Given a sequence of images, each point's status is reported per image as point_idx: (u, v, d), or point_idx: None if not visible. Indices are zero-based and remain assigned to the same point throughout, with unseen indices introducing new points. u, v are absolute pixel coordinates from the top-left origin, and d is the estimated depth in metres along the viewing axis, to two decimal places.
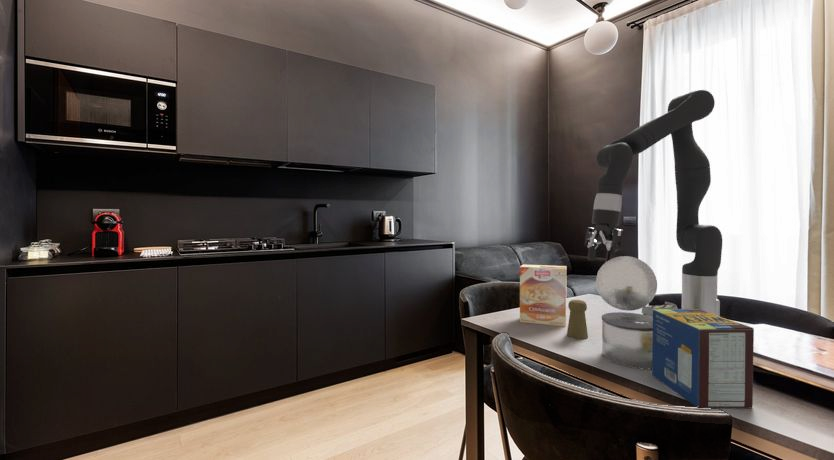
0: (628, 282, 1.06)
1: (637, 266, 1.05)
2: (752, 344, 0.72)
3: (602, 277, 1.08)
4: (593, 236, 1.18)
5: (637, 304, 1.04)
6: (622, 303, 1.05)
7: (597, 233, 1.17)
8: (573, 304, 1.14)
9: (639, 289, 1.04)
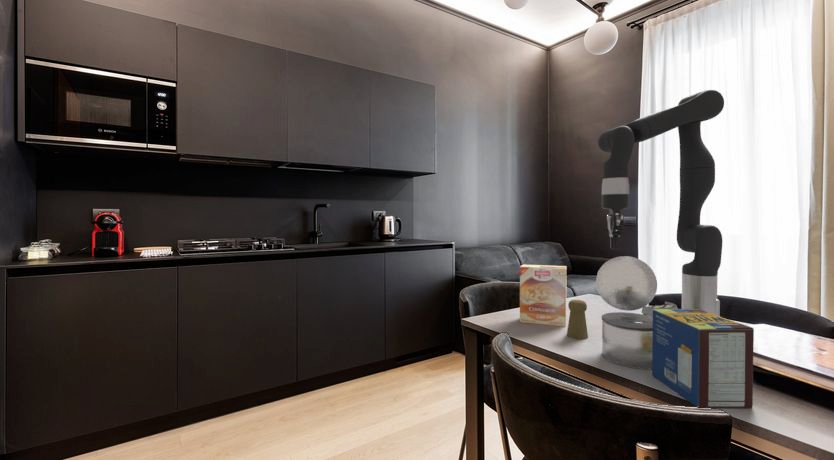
0: (628, 282, 1.06)
1: (637, 266, 1.05)
2: (752, 344, 0.72)
3: (602, 277, 1.08)
4: (608, 222, 1.19)
5: (637, 304, 1.04)
6: (622, 303, 1.05)
7: None
8: (573, 304, 1.14)
9: (639, 289, 1.04)
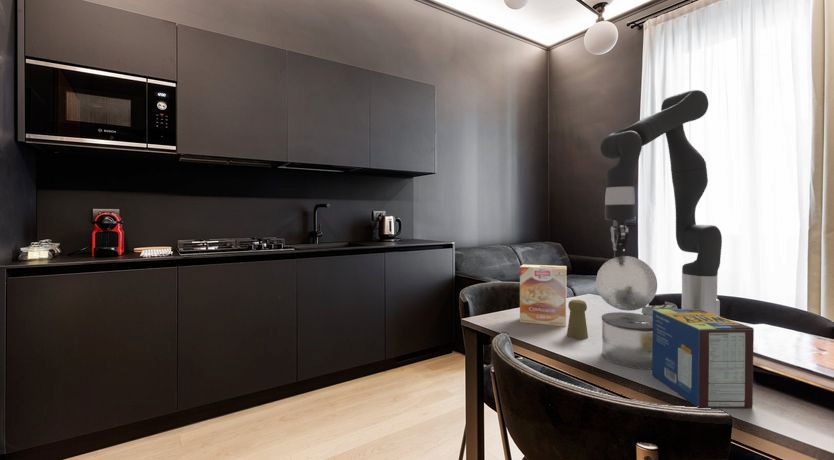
0: (628, 282, 1.05)
1: (637, 266, 1.05)
2: (752, 344, 0.72)
3: (602, 277, 1.08)
4: (612, 234, 1.11)
5: (637, 304, 1.04)
6: (622, 303, 1.05)
7: None
8: (573, 304, 1.14)
9: (639, 289, 1.04)
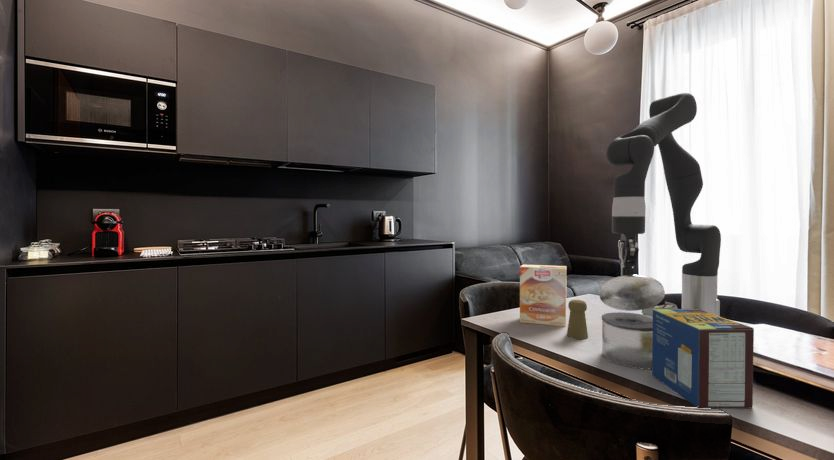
0: (633, 294, 0.99)
1: (647, 285, 0.95)
2: (752, 344, 0.72)
3: (606, 291, 1.01)
4: (619, 249, 1.00)
5: (638, 307, 1.03)
6: (623, 306, 1.04)
7: None
8: (573, 304, 1.14)
9: (644, 299, 1.00)
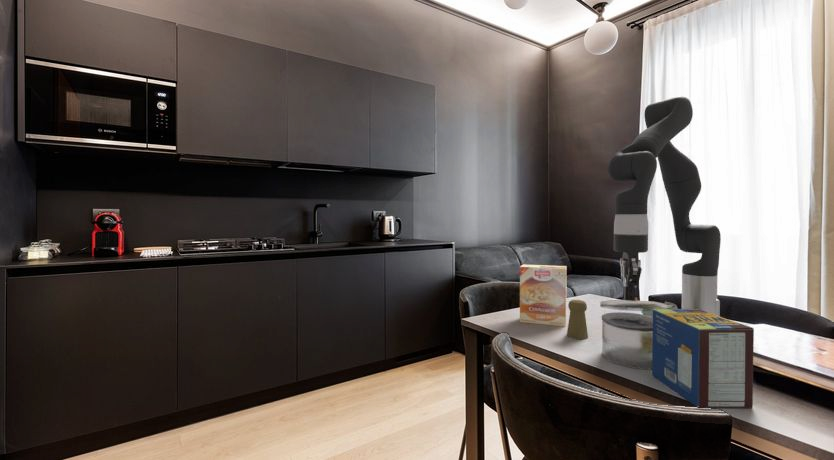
0: (635, 307, 0.98)
1: (649, 306, 0.93)
2: (752, 344, 0.72)
3: (607, 305, 0.99)
4: (621, 267, 0.97)
5: (639, 310, 1.02)
6: (623, 309, 1.03)
7: None
8: (573, 304, 1.14)
9: (645, 309, 0.98)
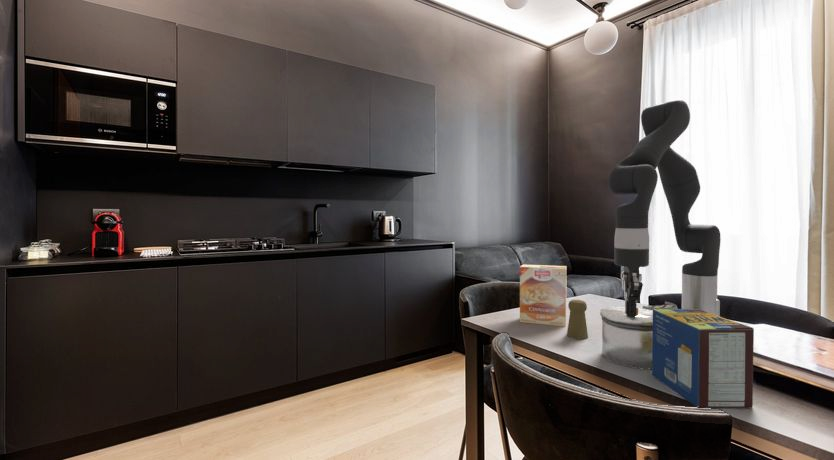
0: None
1: None
2: (752, 344, 0.72)
3: None
4: (622, 281, 0.96)
5: None
6: None
7: None
8: (573, 304, 1.14)
9: None
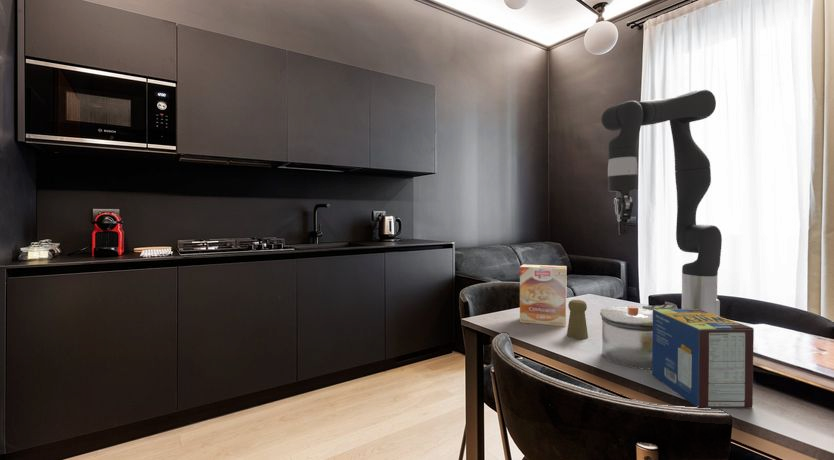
0: None
1: None
2: (752, 344, 0.72)
3: None
4: (615, 205, 1.11)
5: None
6: None
7: None
8: (573, 304, 1.14)
9: None
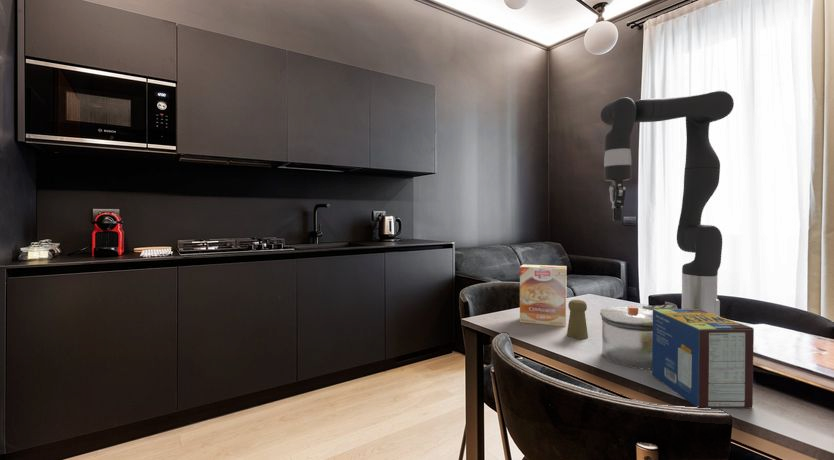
0: None
1: None
2: (752, 344, 0.72)
3: None
4: (610, 194, 1.21)
5: None
6: None
7: None
8: (573, 304, 1.14)
9: None
